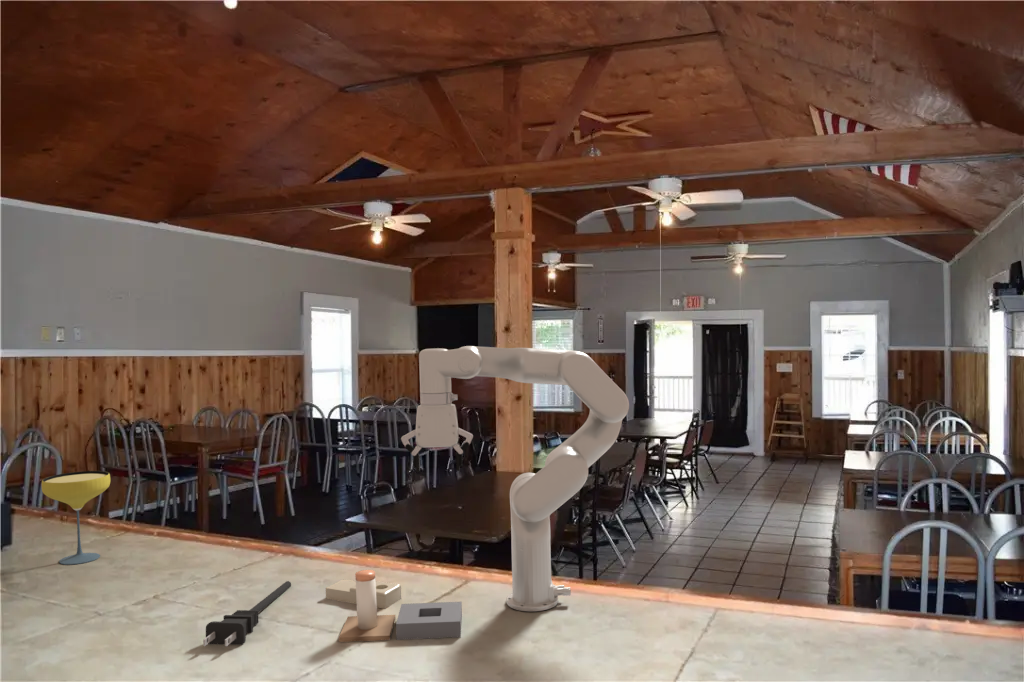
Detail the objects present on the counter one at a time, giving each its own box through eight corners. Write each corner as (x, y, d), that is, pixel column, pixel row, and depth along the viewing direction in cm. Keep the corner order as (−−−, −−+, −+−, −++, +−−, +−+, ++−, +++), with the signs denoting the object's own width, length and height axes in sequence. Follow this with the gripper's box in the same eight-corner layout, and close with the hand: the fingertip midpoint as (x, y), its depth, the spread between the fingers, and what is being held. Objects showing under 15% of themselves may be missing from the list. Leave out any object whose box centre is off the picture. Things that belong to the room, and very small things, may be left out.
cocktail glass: (73, 549, 247) (69, 470, 246) (126, 550, 245) (123, 470, 244) (30, 568, 229) (26, 482, 228) (87, 569, 227) (83, 483, 226)
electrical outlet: (343, 575, 205) (401, 584, 197) (343, 591, 205) (402, 600, 197) (325, 584, 198) (385, 593, 191) (326, 600, 199) (385, 610, 191)
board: (395, 618, 184) (395, 614, 184) (389, 640, 172) (389, 635, 172) (348, 620, 184) (347, 616, 184) (338, 642, 172) (338, 637, 172)
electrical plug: (195, 654, 168) (195, 630, 168) (272, 593, 209) (271, 574, 209) (234, 654, 167) (234, 631, 167) (303, 594, 208) (303, 575, 208)
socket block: (461, 616, 185) (461, 601, 185) (460, 637, 173) (460, 621, 173) (401, 618, 184) (401, 603, 184) (396, 639, 172) (396, 623, 172)
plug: (378, 621, 180) (376, 569, 180) (376, 628, 176) (373, 575, 175) (359, 622, 180) (356, 570, 179) (356, 630, 175) (354, 576, 175)
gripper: (472, 397, 194) (474, 466, 194) (401, 399, 193) (403, 468, 194) (471, 400, 186) (473, 472, 187) (398, 402, 186) (400, 474, 186)
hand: (438, 470), depth 190 cm, fingers open, 9 cm apart
